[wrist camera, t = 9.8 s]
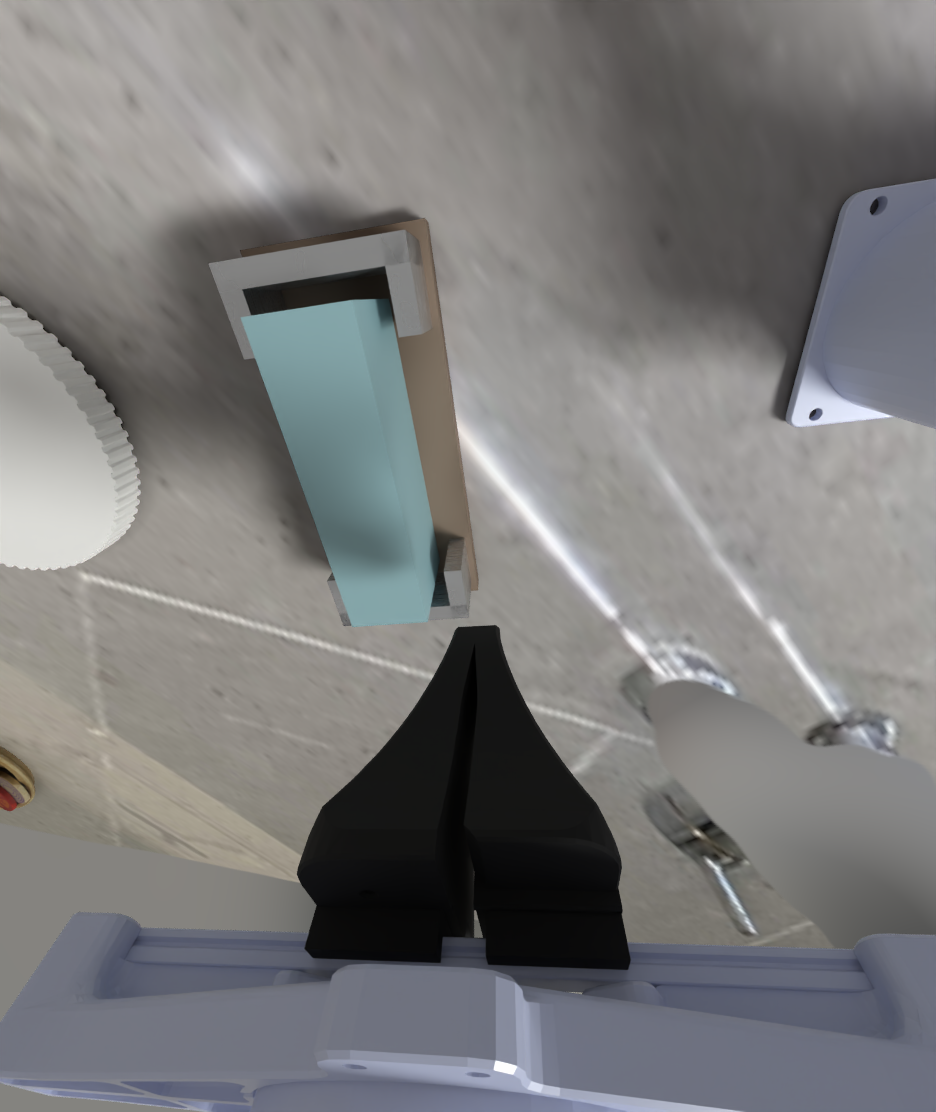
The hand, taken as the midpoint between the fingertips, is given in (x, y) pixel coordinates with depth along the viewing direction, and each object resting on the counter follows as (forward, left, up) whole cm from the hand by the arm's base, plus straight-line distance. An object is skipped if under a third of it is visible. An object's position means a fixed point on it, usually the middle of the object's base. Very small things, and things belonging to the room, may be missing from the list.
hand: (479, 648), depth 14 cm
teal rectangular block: (+4, -4, -9) cm, 11 cm away
